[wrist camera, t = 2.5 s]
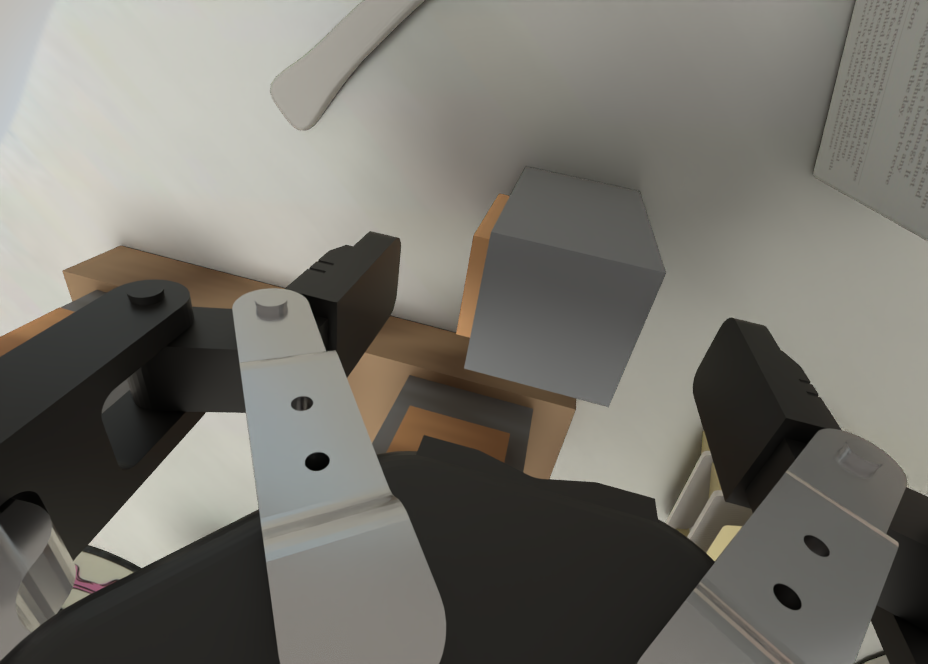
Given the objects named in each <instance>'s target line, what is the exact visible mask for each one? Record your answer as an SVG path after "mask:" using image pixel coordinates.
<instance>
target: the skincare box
mask: <svg viewBox="0 0 928 664" xmlns="http://www.w3.org/2000/svg"><path fill="white" fill-rule="evenodd" d="M813 176H814V177H815V178H817V179H818V180H820V181H822V182H824V183H826V184H827V185H829V186H831V187H833V188H834V189H836V190H838V191H840V192H841V193H843V194H845V195H847V196H849V197H851V198H852V199H854V200H856V201H858V202H859V203H861V204H863V205H865V206H866V207H868V208H870V209H872V210H874V211H875V212H877V213H879V214H881V215H882V216H884V217H886V218H888V219H889V220H891V221H893V222H895V223H896V224H898V225H900V226H901V227H903V228H905V229H907V230H909V231H910V232H912V233H914V234H916V235H918V236H919V237H921V238H923V239H924V240H926V241H928V0H856V2H855V6H854V10H853V14H852V19H851V23H850V27H849V31H848V35H847V39H846V43H845V47H844V51H843V55H842V59H841V63H840V67H839V71H838V75H837V79H836V84H835V88H834V92H833V96H832V100H831V104H830V108H829V112H828V116H827V121H826V124H825V128H824V132H823V137H822V141H821V145H820V149H819V152H818V156H817V160H816V164H815V168H814V173H813Z"/></svg>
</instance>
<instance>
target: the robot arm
mask: <svg viewBox="0 0 928 664" xmlns="http://www.w3.org/2000/svg"><path fill="white" fill-rule="evenodd" d="M400 253H401V242H400V239H399V238H397V237H392V236H388V235H384V234H380V233H376V232H371V231H370V232H369V233H367V234H366V235H365V236H364V237H363V238H362V239H361V240H360V241H359V242H358V243H356V244H355V245H354V246H349V245H345V246H342V247H339V248H336V249H333V250H330V251H329V252H327V253H326V254H325V255H324V256H323V257H321V258H320V259H319V261H318V262H316V263H314V264H313V265H312V266H311V267H310V269H307V270H306V271H305V272H304V273H303V274H301V275H300V276H299V277H298V278H297V279H296V280H294V281H293V282H292V283H291V284H290V285H288V286H287V287H286V288H285V289H278V288H267V289H260V290H255V291H252V292H249V293H246V294H244V295H242V296H241V297H239V298H238V299H237V300H236V301H235V302H234V304H233V307H232V309H226V308H209V307H192V303H191V297H190V292H189V290H188V289H187V288H186V287H185V286H183V285H182V284H179V283H177V282H173V281H168V280H141V281H135V282H131V283H127V284H124V285H121V286H119V287H116V288H114V289H112V290H111V291H109V292H107V293H106V294H104V295H102V296H101V297H99V298H97V299H96V300H94V301H92V302H91V303H89V304H87V305H86V306H84V307H82V308H81V309H79V310H77V311H76V312H74V313H72V314H71V315H69V316H67V317H66V318H64V319H62V320H61V321H59V322H57V323H56V324H54V325H52V326H51V327H49V328H47V329H46V330H44V331H42V332H41V333H39V334H37V335H36V336H34V337H32V338H31V339H29V340H27V341H26V342H24V343H22V344H21V345H19V346H17V347H16V348H14V349H12V350H11V351H9V352H7V353H6V354H4V355H2V356H1V357H0V664H854V663H855V660H856V657H857V655H858V652H859V650H860V647H861V644H862V642H863V639H864V636H865V634H866V631H867V629H868V626H869V623H870V621H871V622H872V624H873V626H874V629H875V631H876V633H877V636H878V638H879V640H880V643H881V645H882V647H883V650H884V652H885V654H886V655H883V656H881V657H878V658H875V659H873V660H870V661H867V662H865V663H864V664H928V497H927V496H925V495H922V494H920V493H918V492H916V491H914V490H911V489H909V488H907V487H906V486H907V478H906V475H905V473H904V472H903V470H902V469H901V467H900V466H899V465H898V464H897V463H896V462H895V461H894V460H893V459H892V458H891V457H890V456H889V455H888V454H886V453H885V452H884V451H883V450H881V449H880V448H878V447H877V446H875V445H874V444H872V443H870V442H869V441H867V440H865V439H863V438H861V437H859V436H857V435H854V434H852V433H849V432H846V431H842V430H841V428H840V427H839V425H838V424H837V422H836V421H835V419H834V418H833V416H832V415H831V413H830V411H829V410H828V408H827V407H826V405H825V404H824V402H823V401H822V399H821V398H820V397H818V393H817V391H816V390H815V388H814V387H813V385H811V384H810V380H809V379H808V377H807V376H806V374H805V373H804V371H803V370H802V368H801V366H799V365H798V364H797V363H796V362H795V361H794V360H792V359H791V358H790V357H789V356H788V355H787V354H785V353H784V352H783V351H781V350H780V348H779V347H778V345H777V343H776V342H775V340H774V338H773V337H772V335H771V334H770V332H769V330H768V329H767V327H766V326H764V325H760V324H756V323H751V322H747V321H743V320H739V319H735V318H729V319H727V320H726V321H725V322H724V323H723V324H722V326H721V327H720V329H719V331H718V333H717V334H716V336H715V338H714V340H713V342H712V344H711V345H710V347H709V349H708V351H707V353H706V355H705V356H704V358H703V360H702V362H701V364H700V366H699V367H698V369H697V372H696V374H695V377H694V382H693V395H694V399H695V402H696V405H697V409H698V412H699V416H700V419H701V422H702V426H703V429H704V432H705V436H706V439H707V442H708V446H709V449H710V453H711V456H712V459H713V463H714V466H715V469H716V473H717V476H718V479H719V483H720V486H721V490H722V493H723V496H724V500H725V502H728V503H732V504H735V505H739V506H743V507H746V508H750V509H751V510H752V515H751V516H750V517H749V518H748V520H747V521H746V522H745V524H744V525H743V526H742V527H741V529H740V530H739V531H738V532H737V534H736V535H735V536H734V537H733V539H732V540H731V541H730V543H729V544H728V545H727V546H726V548H725V549H724V550H723V551H722V553H721V554H720V555H719V557H718V558H717V559H716V560H715V561H714V560H713V559H712V558H711V557H710V556H709V555H708V554H707V553H706V552H705V551H703V550H702V549H701V548H700V547H699V546H697V545H696V544H695V543H694V542H693V541H692V540H690V539H689V538H687V537H686V536H685V535H683V534H682V533H680V532H679V531H678V530H676V529H674V528H673V527H671V526H669V525H668V524H666V523H664V522H662V521H660V520H658V517H657V510H656V503H655V499H654V498H650V497H647V496H643V495H640V494H636V493H632V492H629V491H625V490H622V489H618V488H614V487H611V486H607V485H603V484H600V483H596V482H581V481H566V480H551V479H539V478H535V477H532V476H529V475H527V474H525V473H523V472H521V471H519V470H517V469H515V468H513V467H511V466H509V465H507V464H505V463H503V462H501V461H499V460H498V459H496V458H494V457H492V456H490V455H488V454H486V453H484V452H482V451H480V450H477V449H473V448H469V447H466V446H462V445H459V444H455V443H451V442H448V441H444V440H440V439H437V438H433V437H430V436H426V435H424V436H423V438H422V441H421V443H420V446H419V448H418V451H395V452H388V453H381V454H377V455H376V453H375V450H374V448H373V445H372V442H371V440H370V437H369V435H368V432H367V429H366V427H365V424H364V421H363V419H362V416H361V414H360V411H359V408H358V406H357V403H356V401H355V398H354V395H353V393H352V390H351V388H350V385H349V382H348V380H347V378H348V376H349V375H350V373H351V372H352V371H353V369H354V368H355V366H356V365H357V363H358V362H359V360H360V359H361V358H362V356H363V355H364V353H365V352H366V350H367V349H368V347H369V346H370V344H371V343H372V342H373V340H374V339H375V337H376V336H377V334H378V333H379V331H380V330H381V329H382V327H383V326H384V324H385V323H386V321H387V320H388V318H389V317H390V315H391V313H392V311H393V308H394V305H395V301H396V296H397V286H398V275H399V264H400ZM126 379H127V381H128V384H129V388H130V390H129V391H128V392H126V393H125V394H124V395H123V396H122V397H121V398H120V399H118V400H117V401H116V402H115V403H114V404H113V405H111V406H110V407H109V408H108V409H107V410H106V411H104V412H103V413H102V409H103V405H104V403H105V401H106V399H107V397H108V396H109V395H110V393H111V392H112V391H113V390H114V389H115V388H117V387H118V386H119V385H120V384H121V383H123V382H124V381H125V380H126ZM206 412H236V413H246V417H247V425H248V432H249V440H250V447H251V455H252V462H253V470H254V477H255V485H256V493H257V500H258V508H259V509H258V510H256V511H255V512H253V513H251V514H249V515H247V516H245V517H243V518H241V519H239V520H237V521H235V522H233V523H231V524H229V525H227V526H225V527H223V528H221V529H219V530H217V531H215V532H213V533H211V534H209V535H207V536H205V537H203V538H201V539H199V540H197V541H195V542H193V543H191V544H189V545H187V546H185V547H183V548H181V549H179V550H177V551H175V552H173V553H171V554H169V555H167V556H165V557H163V558H161V559H159V560H157V561H155V562H153V563H151V564H149V565H147V566H145V567H144V568H142V569H140V570H138V571H136V572H134V573H132V574H130V575H128V576H126V577H124V578H122V579H120V580H118V581H116V582H114V583H112V584H110V585H108V586H106V587H104V588H102V589H100V590H98V591H96V592H94V593H92V594H90V595H88V596H86V597H84V598H82V599H81V600H79V601H77V602H75V603H73V604H72V605H70V606H68V607H66V608H65V609H63V610H62V611H60V612H59V613H58V611H59V610H60V608H61V607H62V605H63V604H64V602H65V601H66V599H67V598H68V596H69V594H70V592H71V590H72V588H73V585H74V582H75V577H76V569H75V564H74V562H73V561H74V560H75V559H76V557H77V556H78V555H79V554H80V553H81V552H82V551H83V550H84V548H85V547H86V546H87V545H88V544H89V543H90V542H91V541H92V540H93V538H94V537H95V536H96V535H97V534H98V533H99V532H100V531H101V529H102V528H103V527H104V526H105V525H106V524H107V523H108V522H109V521H110V519H111V518H112V517H113V516H114V515H115V514H116V513H117V512H118V510H119V509H120V508H121V507H122V506H123V505H124V504H125V503H126V501H127V500H128V499H129V498H130V497H131V496H132V495H133V494H134V493H135V491H136V490H137V489H138V488H139V487H140V486H141V485H142V484H143V482H144V481H145V480H146V479H147V478H148V477H149V476H150V475H151V474H152V472H153V471H154V470H155V469H156V468H157V467H158V466H159V465H160V463H161V462H162V461H163V460H164V459H165V458H166V457H167V456H168V455H169V453H170V452H171V451H172V450H173V449H174V448H175V447H176V446H177V444H178V443H179V442H180V441H181V440H182V439H183V438H184V437H185V435H186V434H187V433H188V432H189V431H190V430H191V429H192V428H193V427H194V425H195V424H196V423H197V422H198V421H199V420H200V419H201V418H202V416H203V415H204V414H205V413H206Z"/></svg>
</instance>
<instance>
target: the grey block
mask: <svg viewBox="0 0 928 664" xmlns="http://www.w3.org/2000/svg"><path fill="white" fill-rule="evenodd" d="M665 274H666V271H665V268H664V265H663V262H662V259H661V256H660V253H659V250H658V246H657V243H656V240H655V237H654V234H653V231H652V228H651V225H650V222H649V219H648V215H647V212H646V209H645V206H644V203H643V200H642V197H641V194H640V191H637V190H632V189H628V188H623V187H619V186H614V185H609V184H605V183H600V182H596V181H591V180H587V179H582V178H577V177H573V176H568V175H564V174H559V173H554V172H550V171H545V170H541V169H536V168H532V167H527V166H526V167H525V169H524V171H523V173H522V174H521V176H520V178H519V180H518V182H517V184H516V186H515V188H514V189H513V191H512V193H511V195H510V196H508V195H504V194H499V195H498V196H497V198H496V200H495V201H494V203H493V205H492V206H491V208H490V209H489V211H488V213H487V214H486V216H485V218H484V219H483V221H482V223H481V224H480V226H479V227H478V229H477V231H476V232H475V234H474V236H473V241H472V247H471V253H470V258H469V264H468V270H467V275H466V281H465V287H464V292H463V298H462V303H461V309H460V315H459V320H458V326H457V332H456V334H458V335H461V336H465V337H469V338H470V341H469V346H468V351H467V356H466V361H465V366H464V369H468V370H472V371H476V372H479V373H483V374H487V375H491V376H494V377H498V378H502V379H505V380H509V381H513V382H517V383H520V384H524V385H528V386H532V387H535V388H539V389H543V390H547V391H550V392H554V393H558V394H561V395H565V396H569V397H573V398H576V399H580V400H584V401H588V402H591V403H595V404H599V405H603V406H606V407H609V405H610V403H611V400H612V398H613V396H614V393H615V391H616V389H617V386H618V384H619V382H620V379H621V377H622V375H623V372H624V370H625V368H626V365H627V363H628V361H629V358H630V356H631V354H632V351H633V349H634V347H635V344H636V342H637V340H638V337H639V335H640V333H641V330H642V328H643V326H644V323H645V321H646V319H647V316H648V314H649V312H650V309H651V307H652V305H653V302H654V300H655V298H656V295H657V293H658V291H659V288H660V286H661V284H662V281H663V279H664V277H665Z"/></svg>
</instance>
